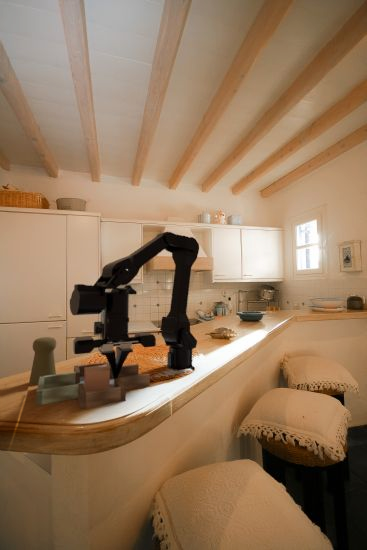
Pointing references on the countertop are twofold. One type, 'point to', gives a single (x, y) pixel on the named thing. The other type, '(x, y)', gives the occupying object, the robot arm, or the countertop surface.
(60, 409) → the countertop surface
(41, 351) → the olive green pepper mill
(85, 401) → the trap lane
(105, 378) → the block
